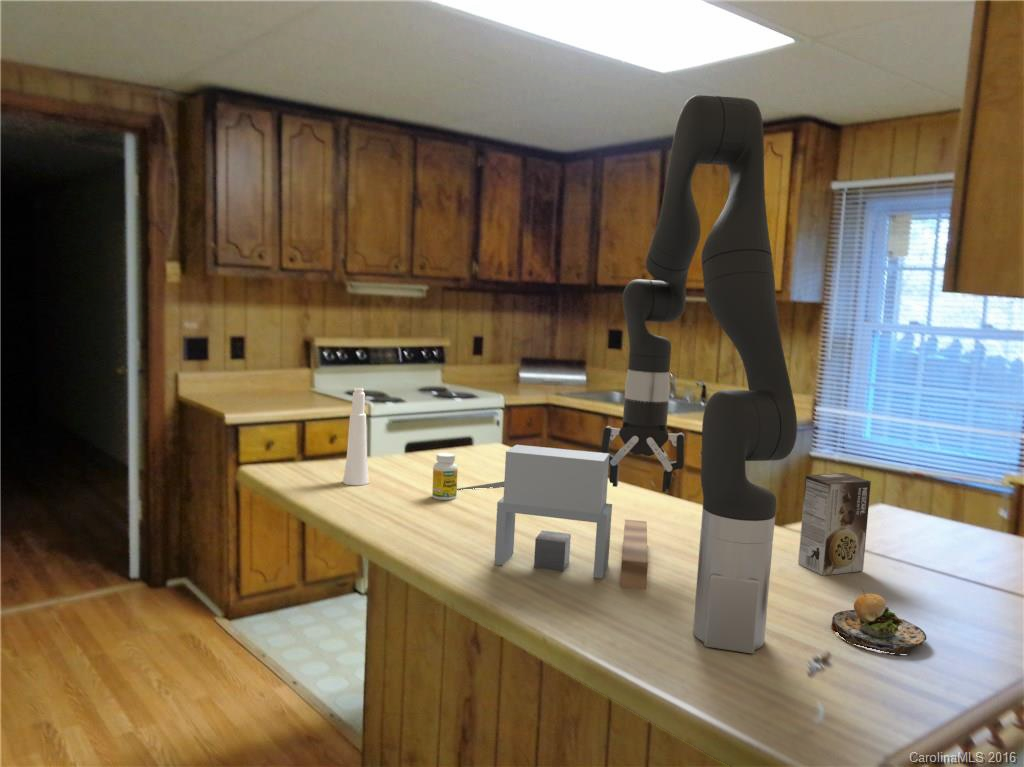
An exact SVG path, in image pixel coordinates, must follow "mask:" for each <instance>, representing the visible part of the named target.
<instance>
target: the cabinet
mask: <svg viewBox="0 0 1024 767" xmlns="http://www.w3.org/2000/svg"><path fill="white" fill-rule="evenodd" d="M609 454H610V452H609V453H601V452H598V451H587V450H575V449H567V448H566V449H564V448H556V447H555V448H554V447H543V446H535V445H523V444H515V445H514V446H512V447H511V448H509V449H508V450H506V451H505V462H504V464H505V465H504V466H505V467H504V481H503V482H504V487H503V497H502V498H500V499H499V500H498V501H497V504H496V522H495V523H496V524H495V544H494V546H495V547H494V565H498V566H504V565H505V563H507V561H508V560H509V558H511V557H512V555H513V554H514V547H515V533H516V532H515V531H516V514H519V515H528V516H537V517H544V518H545V517H546V518H554V519H562V520H569V521H571V520H572V521H578V522H588V523H596V530H595V544H594V546H595V547H594V563H593V578H595V579H602V580H603V579H604V577H605V574H606V571H607V569H608V566H609V560H610V558H609V557H610V544H611V540H610V539H611V531H612V530H611V527H612V516H613V515H612V511H613V504H612V503H607V498H608V497H607V496H608V483H609V482H608V480H609V470H610V464H609Z"/></svg>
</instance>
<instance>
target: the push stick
mask: <svg viewBox="0 0 1024 767" xmlns="http://www.w3.org/2000/svg"><path fill="white" fill-rule="evenodd" d="M621 552H622V553H621V564H620V565H621V566H620V578H619V579H620V580H619V587H624V588H625V587H626V588H633V589H634V588H636V589H643V590H646V589H647V578H648V577H647V576H648V565H649V563H648V560H649V559H648V557H649V556H648V554H649V553H648V522H647V521H646V520H635V519H627V518H625V519H624V528H623V541H622V551H621Z"/></svg>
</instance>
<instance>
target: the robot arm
mask: <svg viewBox="0 0 1024 767" xmlns="http://www.w3.org/2000/svg"><path fill="white" fill-rule="evenodd" d="M674 129H675V130H674V134H673V140H672V144H671V145H672V146H671V150H670V155H669V161H668V166H667V172H666V180H665V184H664V185H665V186H664V192H663V198H662V204H661V210H660V215H659V218H658V222H657V225H656V229H655V232H654V235H653V237H652V240H651V243H650V246H649V249H648V252H647V255H646V260H645V268H646V269H645V270H646V271H647V273H648V274H649V275H650V276H652V277H653V278H655V279H656V280H655V279H652V280H651V279H639V278H638V279H632V280H631V281H630V282H628V283H627V285H626V286H625V288H624V290H623V293H622V301H621V302H622V307H623V314H624V318H625V322H626V329H627V333H628V334H627V335H628V345H629V348H628V349H629V350H628V352H629V353H628V367H627V374H626V380H625V386H624V387H625V388H624V401H623V416H622V425H621V428H618V427H617V428H616V427H612V426H611V425H606V426H605V427H604V429H603V434H602V440H601V441H602V442H601V449H600V453H609V476H608V480H609V483H610V484H612V487H615V488H617V487H618V485H619V474H620V464H619V463H620V461H622V459H623V458H624V457H625V456H627V454H628V453H629V452H630V453H631V454H632V455H633V456H635V455H637V456H638V455H640V456H641V455H643V456H646V457H652V456H656V458H657V460H658V461H659V462H660V463H661V465H662V466H663V468H664V469H663V474H662V475H663V477H662V489H661V491H662V493H665V494H666V493H667V492H668V490H670V489H671V488H672V480H673V479H672V478H673V472H674V471H676V470H682V469H683V468H684V464H685V434H684V433H683V432H678V433H669V432H668V429H667V428H668V426H667V425H668V411H669V400H670V394H671V393H670V392H671V391H670V388H671V387H670V386H671V385H670V384H671V383H670V370H671V366H670V365H671V357H672V356H671V355H672V344H671V341H670V340H669V339H668V338H666V337H663V336H661V335H660V336H659V335H656V334H653V333H650V330H648V327H647V325H646V322H653V323H655V322H656V323H673V322H676V321H677V320H678V319H680V318H681V316H682V315H683V314H684V312H685V309H686V303H687V302H686V301H687V296H686V294H687V282H688V281H687V280H688V274H689V269H690V266H691V264H692V260H693V259H694V256H695V254H696V251H697V248H698V246H699V243H700V238H701V221H700V216H699V213H698V209H697V207H696V206H697V205H696V203H695V200H694V195H693V191H692V179H693V174H694V172H695V169H696V168H697V165H699V164H701V165H712V166H713V165H715V166H727V168H728V169H727V170H728V172H729V193H728V197H727V200H726V203H725V204H724V206H723V208H722V211H721V213H720V214H719V216H718V217H717V219H716V221H715V223H714V225H713V226H712V228H711V230H710V231H709V234H708V236H707V237H706V240H705V242H704V244H703V248H702V251H701V267H702V279H703V281H702V282H703V290H704V297H705V301H706V303H707V305H708V307H709V309H710V311H711V313H712V315H713V317H714V318H715V319H716V321H717V322H718V324H719V325H720V327H721V328H722V330H723V331H724V332H725V334H726V336H727V337H728V338H729V340H730V341H731V342H732V344H733V346H734V347H735V349H736V350H737V352H738V354H739V356H740V359H741V361H742V364H743V367H744V372H745V376H746V380H747V387H748V389H746V390H745V389H744V390H743V389H725V390H724V389H723V390H722V389H721V390H719V391H716V392H714V393H713V394H712V395H711V396H710V398H709V399H708V401H707V403H706V406H705V408H704V412H703V416H702V426H701V464H700V465H701V466H700V469H701V470H700V484H701V489H702V498H703V499H702V511H701V523H700V526H701V527H700V535H699V537H700V538H699V549H698V562H697V573H696V574H697V575H696V587H695V588H696V589H695V602H694V614H693V616H694V618H693V626H692V627H693V629H692V632H693V635H694V636H695V637H696V638H697V639H698V640H700V641H701V642H702V643H703V644H704V645H703V646H704V647H707V648H712V649H713V648H714V649H721V650H726V651H731V652H732V651H733V652H741V653H748V654H755V650H758V649H760V648H761V647H763V646H764V645H765V641H766V640H765V638H766V628H767V625H766V624H767V615H768V614H767V613H768V604H769V603H768V602H769V590H770V580H771V578H770V577H771V565H772V552H773V543H774V542H773V541H774V531H775V523H776V522H775V520H776V510H777V497H776V495H775V493H773V492H772V491H771V490H769V489H768V488H765V487H764V486H760V485H758V484H753V483H752V482H750V481H749V479H748V478H747V473H746V472H747V471H746V462H764V461H765V462H766V461H774V462H775V461H781V460H783V459H786V458H787V457H788V456H789V455H790V454H791V453H792V451H793V450H794V447H795V445H796V441H797V434H798V420H797V418H798V417H797V410H796V409H797V408H796V404H795V400H794V395H793V390H792V386H791V381H790V376H789V370H788V368H787V363H786V362H787V361H786V359H785V352H784V350H783V349H784V348H783V343H782V336H781V329H780V321H779V312H778V306H777V304H778V303H777V294H776V284H775V282H776V281H775V272H774V271H775V270H774V262H773V253H772V248H771V242H770V235H769V234H770V232H769V226H768V216H767V205H766V204H767V203H766V193H765V191H766V190H765V148H764V147H765V145H764V143H765V142H764V140H765V138H764V122H763V117H762V112H761V110H760V107H759V105H758V104H757V103H756V101H754V100H752V99H750V98H745V97H737V96H726V95H716V94H715V95H713V94H696V95H693V96H691V97H690V98H688V99H687V100H686V101H685V103H684V105H683V107H682V109H681V111H680V113H679V115H678V118H677V122H676V125H675V128H674ZM617 435H619V438H620V440H621V441H622V443H623V445H622V447H620V449H619V450H618V451H617V452H616V453H615V454H614V455H612V454H611V453H610V449H611V444H612V443H611V442H612V441H614V440H615V439H616V436H617ZM669 440H670V441H671V444H672V445H673V447H676V452H675V454H676V456H675V457H676V458H675V459H676V460H674V461H671V459H670V457H669V456H668V454H667V452H666V451H665V449H664V447H663V446H664V445H665V444H666V443H667V442H668V441H669Z"/></svg>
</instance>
